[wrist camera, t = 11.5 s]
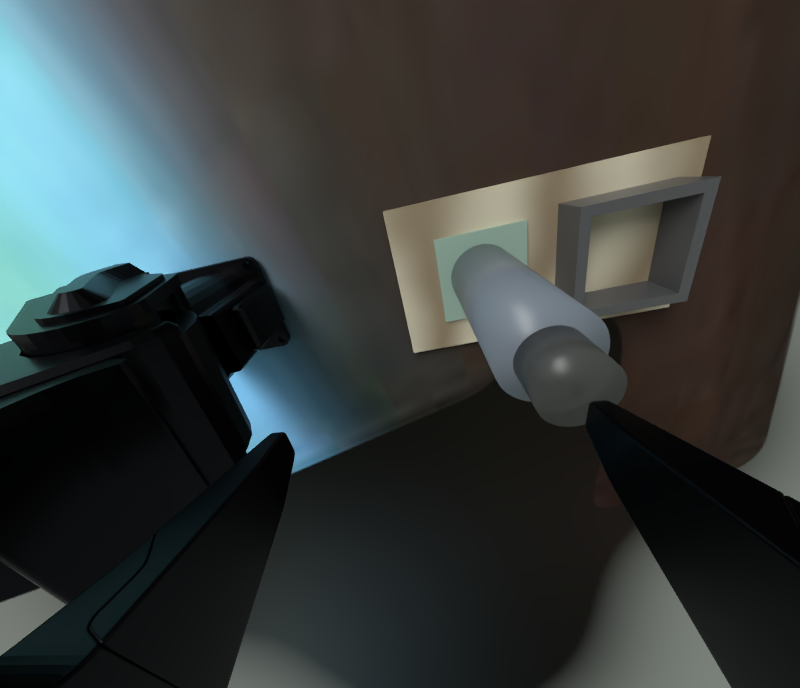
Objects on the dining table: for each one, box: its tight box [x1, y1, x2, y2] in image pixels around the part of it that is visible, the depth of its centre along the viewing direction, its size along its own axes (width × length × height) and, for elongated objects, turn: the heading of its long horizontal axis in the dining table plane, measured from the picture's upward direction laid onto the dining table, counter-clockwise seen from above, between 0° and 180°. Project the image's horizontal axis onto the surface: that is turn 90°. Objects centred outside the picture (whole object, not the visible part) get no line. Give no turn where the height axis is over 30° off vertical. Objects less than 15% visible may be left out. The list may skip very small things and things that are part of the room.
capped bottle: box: [451, 244, 627, 427], centre depth 14 cm, size 4×4×12 cm
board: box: [383, 136, 711, 353], centre depth 19 cm, size 18×10×1 cm, turn 102°
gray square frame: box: [555, 176, 721, 317], centre depth 18 cm, size 7×7×2 cm
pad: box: [433, 220, 527, 322], centre depth 19 cm, size 6×6×1 cm
